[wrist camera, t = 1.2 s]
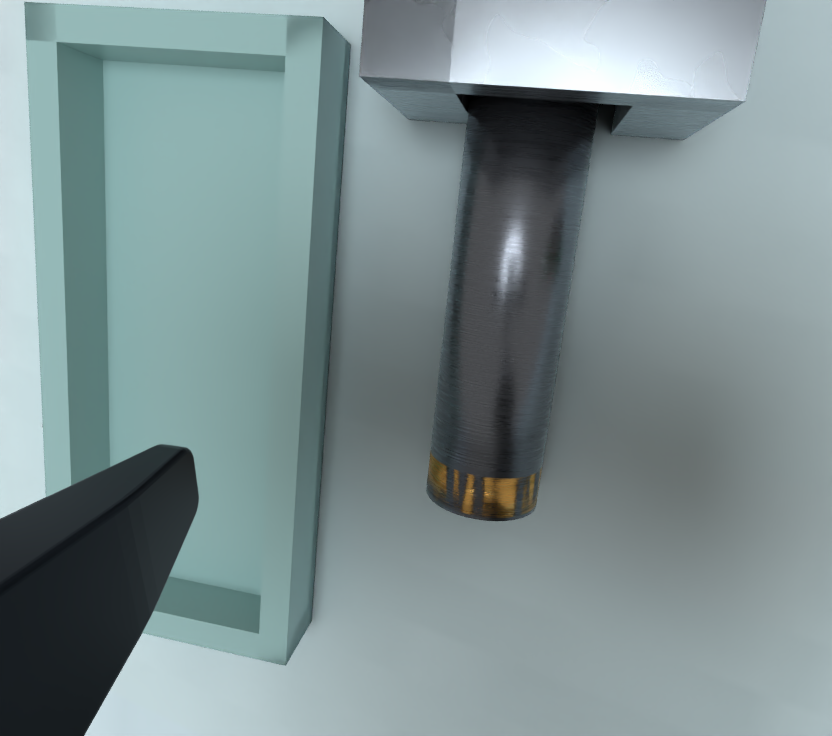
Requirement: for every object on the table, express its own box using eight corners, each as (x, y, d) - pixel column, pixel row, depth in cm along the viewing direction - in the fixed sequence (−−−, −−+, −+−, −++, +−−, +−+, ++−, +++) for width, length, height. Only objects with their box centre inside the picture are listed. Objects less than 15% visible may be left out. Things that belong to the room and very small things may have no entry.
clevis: (682, 140, 18) (745, 101, 12) (408, 119, 19) (359, 76, 14) (721, -63, 16) (808, -201, 11) (425, -71, 18) (378, -197, 12)
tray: (311, 621, 23) (285, 665, 21) (97, 575, 25) (51, 612, 22) (350, 44, 19) (323, 17, 16) (85, 29, 20) (24, 2, 18)
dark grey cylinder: (543, 487, 20) (524, 532, 17) (445, 464, 21) (410, 502, 18) (619, 16, 17) (612, -34, 14) (497, 17, 18) (466, -30, 15)
